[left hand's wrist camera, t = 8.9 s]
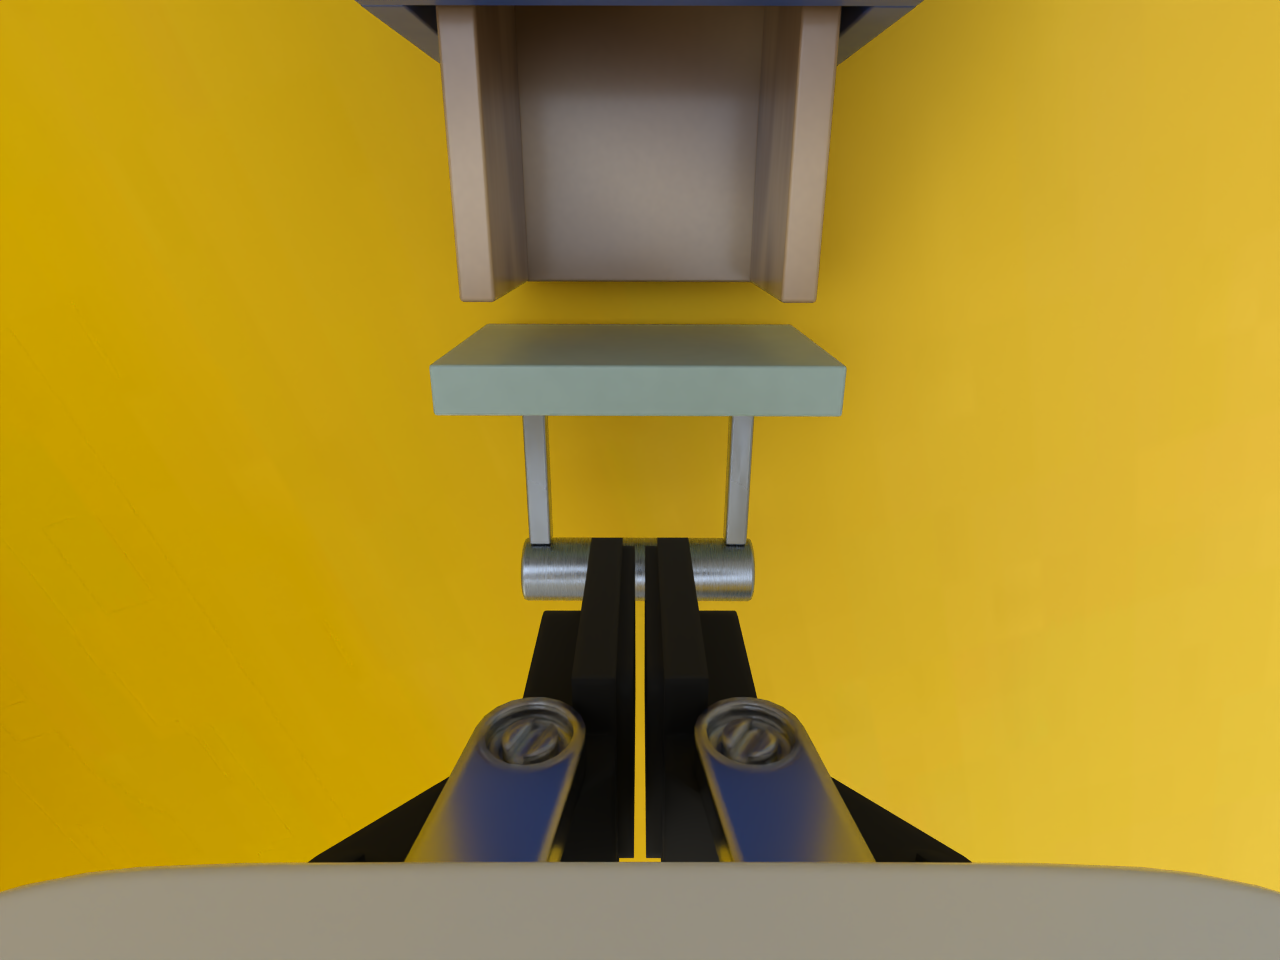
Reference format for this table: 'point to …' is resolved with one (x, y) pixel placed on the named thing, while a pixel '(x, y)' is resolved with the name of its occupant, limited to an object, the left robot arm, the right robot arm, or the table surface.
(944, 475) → the table surface
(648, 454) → the table surface
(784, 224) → the drawer
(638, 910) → the left robot arm
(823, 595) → the table surface
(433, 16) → the cabinet
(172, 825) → the table surface
